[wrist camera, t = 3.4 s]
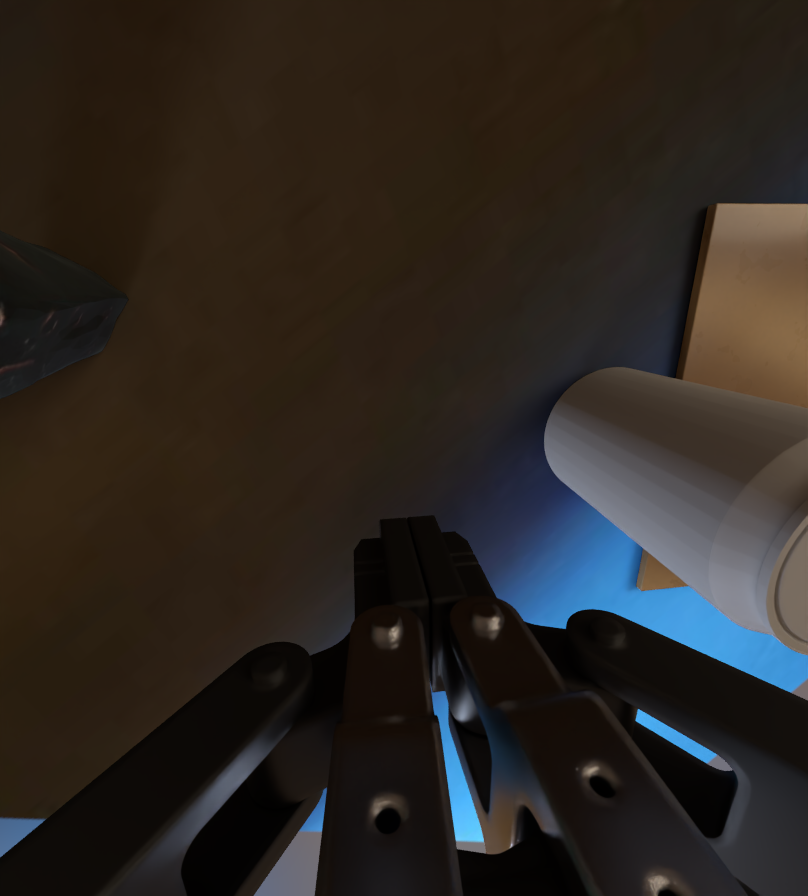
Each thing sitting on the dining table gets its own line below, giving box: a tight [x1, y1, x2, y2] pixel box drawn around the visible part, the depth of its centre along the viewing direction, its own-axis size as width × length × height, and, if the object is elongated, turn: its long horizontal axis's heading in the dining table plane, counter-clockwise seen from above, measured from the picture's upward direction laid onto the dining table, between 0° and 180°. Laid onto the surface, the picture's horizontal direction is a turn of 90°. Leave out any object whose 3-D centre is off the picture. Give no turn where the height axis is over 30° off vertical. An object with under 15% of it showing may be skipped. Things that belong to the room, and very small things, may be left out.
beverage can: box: [544, 367, 808, 655], centre depth 16 cm, size 6×6×12 cm
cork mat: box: [636, 203, 808, 591], centre depth 22 cm, size 20×16×1 cm
